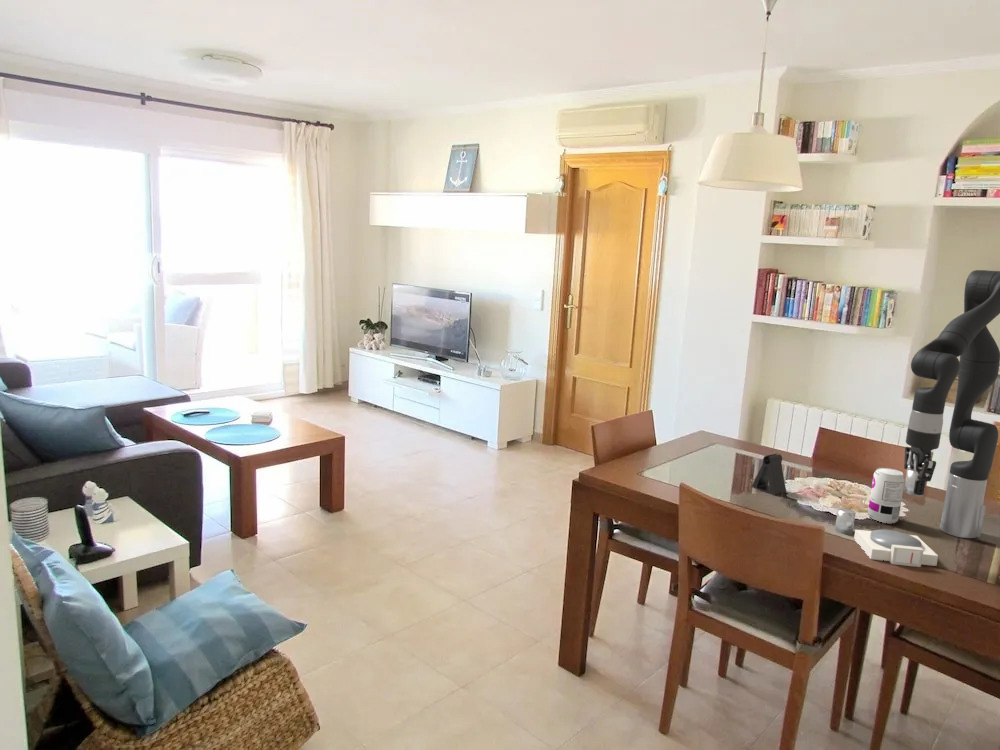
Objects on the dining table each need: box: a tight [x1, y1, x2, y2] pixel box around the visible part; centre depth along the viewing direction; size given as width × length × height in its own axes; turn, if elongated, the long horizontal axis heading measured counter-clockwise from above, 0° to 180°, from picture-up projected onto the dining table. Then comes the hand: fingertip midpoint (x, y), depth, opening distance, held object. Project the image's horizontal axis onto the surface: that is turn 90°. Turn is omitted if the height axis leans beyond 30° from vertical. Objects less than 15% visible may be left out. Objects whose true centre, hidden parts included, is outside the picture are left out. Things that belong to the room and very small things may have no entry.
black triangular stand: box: [751, 453, 787, 496], centre depth 237 cm, size 9×6×12 cm, turn 34°
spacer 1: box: [834, 507, 857, 535], centre depth 206 cm, size 5×5×6 cm
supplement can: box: [867, 467, 906, 525], centre depth 216 cm, size 8×8×15 cm
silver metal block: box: [903, 468, 927, 497], centre depth 190 cm, size 5×5×6 cm
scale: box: [853, 529, 939, 568], centre depth 192 cm, size 16×15×5 cm
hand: (914, 490), depth 190 cm, fingers closed on silver metal block, 4 cm apart
